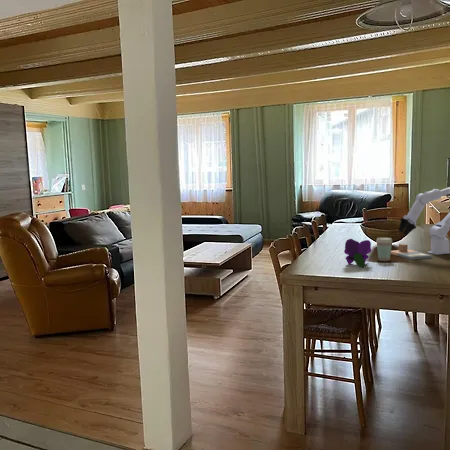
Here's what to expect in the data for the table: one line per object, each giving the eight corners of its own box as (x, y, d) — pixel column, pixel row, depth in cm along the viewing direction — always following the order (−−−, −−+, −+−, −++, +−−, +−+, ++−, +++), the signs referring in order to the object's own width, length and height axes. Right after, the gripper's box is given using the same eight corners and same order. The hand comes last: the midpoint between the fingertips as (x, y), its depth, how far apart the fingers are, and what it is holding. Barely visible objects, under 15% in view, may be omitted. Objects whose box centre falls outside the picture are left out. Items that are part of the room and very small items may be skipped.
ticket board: (417, 254, 268) (417, 251, 268) (431, 258, 257) (431, 255, 257) (397, 256, 265) (397, 253, 265) (411, 259, 253) (411, 257, 253)
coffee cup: (391, 258, 259) (391, 237, 257) (392, 261, 251) (393, 239, 249) (375, 258, 261) (375, 237, 260) (376, 261, 253) (376, 239, 252)
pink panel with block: (408, 251, 276) (408, 242, 275) (417, 253, 269) (417, 244, 268) (389, 253, 273) (389, 244, 272) (397, 255, 265) (397, 246, 265)
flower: (375, 276, 240) (367, 260, 251) (380, 254, 232) (372, 237, 243) (347, 277, 240) (341, 261, 251) (351, 255, 231) (345, 239, 242)
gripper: (412, 213, 274) (401, 233, 275) (404, 206, 263) (391, 226, 265) (423, 218, 269) (411, 238, 270) (415, 210, 258) (402, 232, 260)
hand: (402, 233), depth 267 cm, fingers open, 7 cm apart
